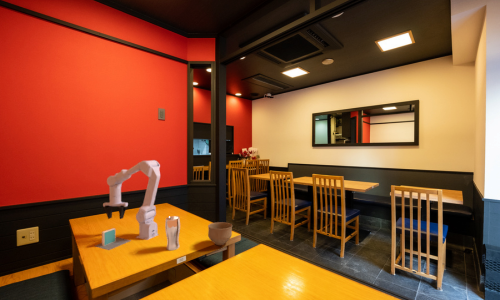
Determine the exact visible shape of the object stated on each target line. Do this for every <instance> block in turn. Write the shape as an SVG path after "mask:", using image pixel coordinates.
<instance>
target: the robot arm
mask: <svg viewBox="0 0 500 300" xmlns="http://www.w3.org/2000/svg"><path fill="white" fill-rule="evenodd" d="M160 168H161V164H160V163H159V162H158V161H157V160H156V159H152V160H141V161H140V162H138V163H137V164H135V165H133V166H132V167H131V168H130V167H129V169H121V170H120V172H117V173H114V175H109V176H108V177H107V179H106V184H107V185H108V186H109V202H104V203H103V204H102V206H103V208H102V210H103V211H104V212H105V213H106V217H107V219H108V220H109V219H112V218H113V210H114V209H113V208H114V207H117V210H118V213H119V214H118V215H119V216H118V217H119V220H122V219H124V216H125V213H126V211H127V209H128V208H129V207H128V205H129V203H128V202H125V201H122V186H123V185H122V184H123V183H124V182H125V181H127V180H129V179H130V178H131V177H132V175H134V174H136V173H137V172H140V171H141V173H143V174H144V175H145V176H146V177H148V183H147V187H146V190H145V195H144V199H143V203H142V205H141V206H140V207H139V208H138V209H139V210H138V211H137V213H136V215H135V219H136V221H137V223H138V225H139V231H138V232H139V235H137V236H136V237H135V238H136V239H142V240H145V241H148V240H150V239H153V238H155V237H157V236H159V235H160V234H159V233H158V223H157V222H155V221H154V219H155V217H156V215H157V210H156V209H157V208H156V205H154V204H155V201H156V196H157V192H158V187H159V183H160V181H161V180H160V179H161V172H160Z"/></svg>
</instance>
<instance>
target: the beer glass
mask: <svg viewBox="0 0 500 300" xmlns="http://www.w3.org/2000/svg"><path fill="white" fill-rule="evenodd" d="M164 226H165V234H166V235H165V236H166V239H167V240H166V241H167V244H166V250H168V251H174V250H175V251H176V250H178V249H179V248H180V241H179V238H180V233H181V232H180V230H181V221H180V216H179V215H172V216H168V217H165V225H164Z"/></svg>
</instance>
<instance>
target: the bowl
mask: <svg viewBox="0 0 500 300" xmlns="http://www.w3.org/2000/svg"><path fill="white" fill-rule="evenodd" d="M207 227H208V228H207V229H208V231H207V232H208V233H207V234H208V238H209V240H210V241H211V242H212V243H214V245H216V246H223V245H225V244H226V243H227V242H228V241H229V240H230V239H231V237H232V234H233V233H232V232H233V228H232V227H233V223H229V222H225V221H224V222H223V221H222V222H219V221H217V222H212V223H209V224H208V226H207Z"/></svg>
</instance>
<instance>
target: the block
mask: <svg viewBox="0 0 500 300" xmlns="http://www.w3.org/2000/svg"><path fill="white" fill-rule="evenodd" d="M115 238H116V228H114V227H112V228H111V229H107V230H104V231H102V232H101V243H102V246H105V245H108V244H110V243H113V242H115Z"/></svg>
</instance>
